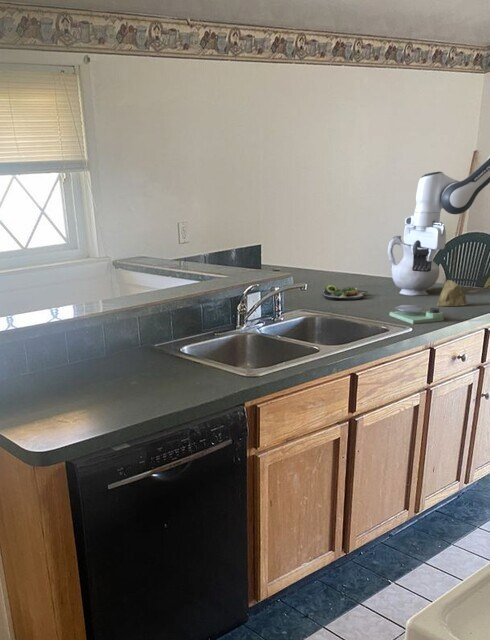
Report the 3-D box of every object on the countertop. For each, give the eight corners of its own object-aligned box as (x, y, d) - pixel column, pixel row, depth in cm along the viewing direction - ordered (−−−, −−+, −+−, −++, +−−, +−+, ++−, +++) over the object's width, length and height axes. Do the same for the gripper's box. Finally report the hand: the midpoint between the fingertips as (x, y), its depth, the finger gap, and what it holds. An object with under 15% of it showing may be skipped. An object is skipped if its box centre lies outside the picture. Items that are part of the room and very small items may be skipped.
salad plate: (364, 291, 294) (364, 281, 292) (371, 300, 278) (372, 289, 276) (320, 292, 296) (320, 282, 294) (325, 301, 280) (326, 290, 278)
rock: (472, 298, 263) (448, 292, 269) (472, 283, 256) (447, 277, 262) (459, 318, 260) (435, 311, 266) (458, 303, 254) (434, 297, 260)
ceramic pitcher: (392, 301, 280) (400, 241, 268) (377, 289, 297) (384, 232, 285) (442, 298, 280) (452, 239, 268) (424, 287, 297) (433, 230, 286)
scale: (445, 320, 241) (446, 312, 240) (413, 324, 238) (414, 316, 237) (419, 312, 255) (420, 304, 253) (389, 315, 251) (390, 308, 250)
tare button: (440, 313, 241) (441, 309, 240) (433, 314, 240) (433, 309, 239) (435, 311, 243) (435, 307, 243) (428, 312, 243) (428, 308, 242)
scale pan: (429, 310, 244) (429, 309, 243) (405, 313, 241) (405, 311, 241) (412, 305, 253) (413, 303, 252) (390, 308, 250) (390, 306, 250)
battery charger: (409, 271, 243) (413, 240, 239) (413, 270, 246) (416, 238, 242) (429, 272, 239) (432, 240, 235) (432, 271, 242) (435, 239, 238)
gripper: (452, 222, 227) (447, 262, 233) (417, 217, 245) (413, 255, 251) (437, 223, 226) (432, 264, 231) (402, 218, 244) (398, 256, 249)
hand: (421, 259), depth 241 cm, fingers closed on battery charger, 7 cm apart
